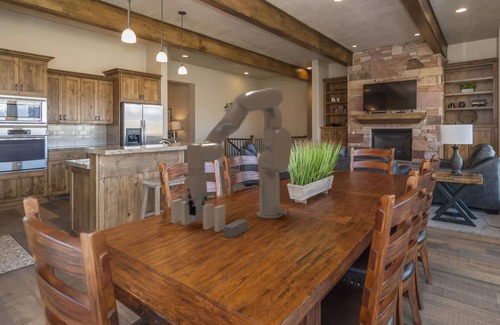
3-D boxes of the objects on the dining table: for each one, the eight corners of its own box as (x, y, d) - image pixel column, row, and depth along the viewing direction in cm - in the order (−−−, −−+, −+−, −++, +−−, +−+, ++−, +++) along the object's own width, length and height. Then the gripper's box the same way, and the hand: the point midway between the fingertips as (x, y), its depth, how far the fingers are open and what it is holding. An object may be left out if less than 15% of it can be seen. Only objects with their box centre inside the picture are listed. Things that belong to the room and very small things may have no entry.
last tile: (225, 228, 130) (225, 205, 129) (218, 231, 126) (218, 207, 125) (221, 227, 131) (221, 204, 130) (214, 231, 127) (214, 207, 126)
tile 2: (192, 222, 139) (191, 200, 138) (184, 225, 135) (184, 203, 134) (189, 222, 140) (188, 200, 139) (181, 224, 136) (180, 202, 135)
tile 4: (213, 226, 133) (213, 203, 132) (206, 229, 129) (206, 206, 128) (210, 225, 134) (209, 203, 133) (202, 228, 130) (202, 205, 129)
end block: (248, 229, 129) (248, 220, 128) (232, 238, 119) (232, 227, 118) (239, 228, 131) (239, 218, 130) (223, 236, 120) (223, 226, 120)
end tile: (182, 220, 142) (181, 199, 141) (174, 223, 138) (174, 201, 137) (179, 220, 143) (178, 198, 142) (171, 222, 139) (170, 201, 138)
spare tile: (191, 220, 133) (190, 198, 132) (198, 218, 137) (198, 195, 136) (195, 221, 132) (194, 198, 131) (202, 218, 136) (202, 196, 135)
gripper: (201, 169, 142) (202, 208, 143) (175, 173, 127) (176, 217, 129) (215, 170, 138) (215, 210, 140) (189, 174, 123) (190, 219, 125)
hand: (196, 213), depth 134 cm, fingers closed on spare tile, 4 cm apart
